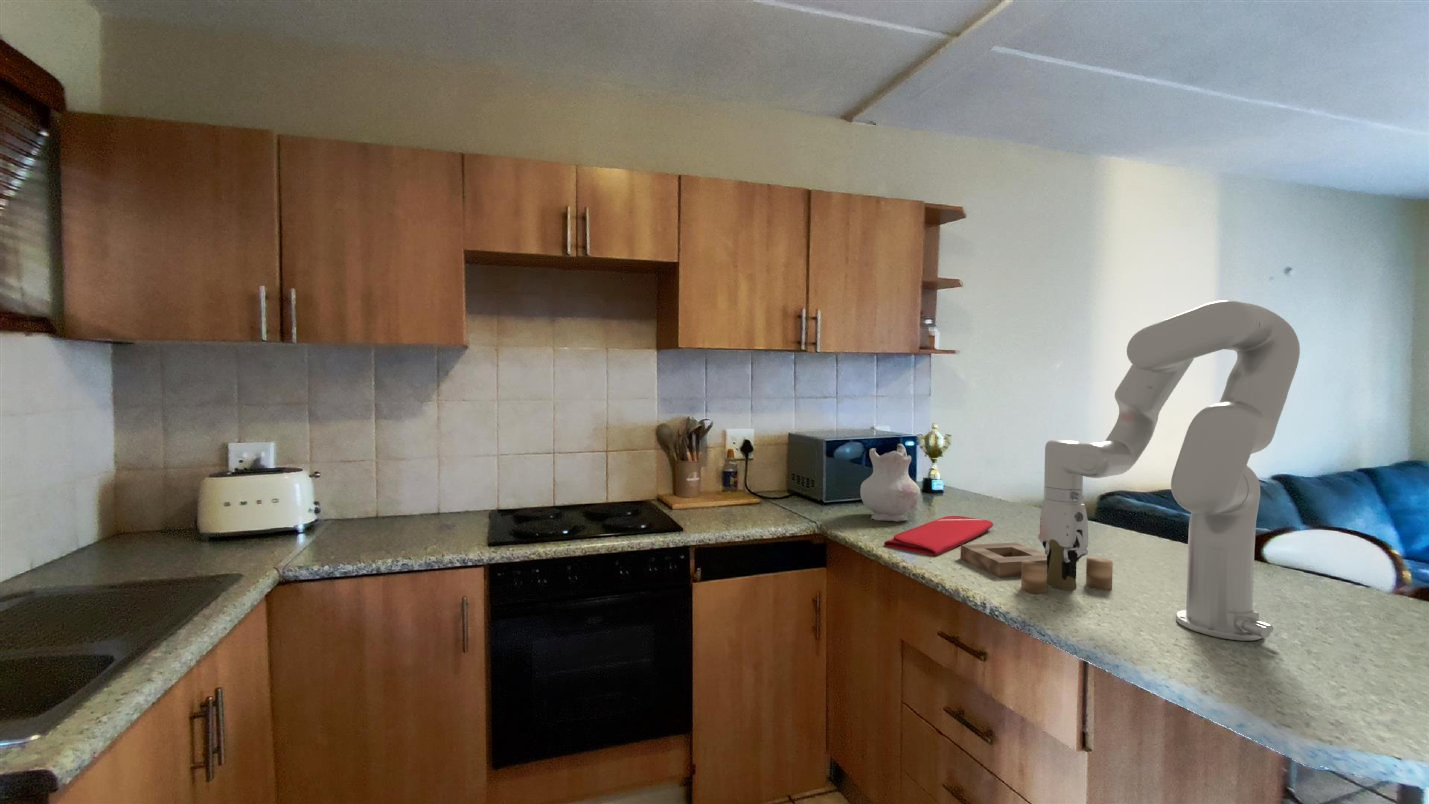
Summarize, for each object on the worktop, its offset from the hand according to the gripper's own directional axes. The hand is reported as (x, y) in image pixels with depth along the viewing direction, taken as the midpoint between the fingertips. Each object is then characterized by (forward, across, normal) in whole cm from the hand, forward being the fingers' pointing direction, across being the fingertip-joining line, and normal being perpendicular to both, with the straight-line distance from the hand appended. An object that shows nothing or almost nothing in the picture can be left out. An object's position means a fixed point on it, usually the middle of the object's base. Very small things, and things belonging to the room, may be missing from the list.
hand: (1061, 575), depth 139 cm
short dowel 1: (+2, -2, +8) cm, 9 cm away
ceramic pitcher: (+3, +72, +5) cm, 73 cm away
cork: (+3, 0, 0) cm, 3 cm away
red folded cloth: (+3, +44, +3) cm, 44 cm away
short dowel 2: (+2, -2, -8) cm, 9 cm away
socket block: (+2, +16, +2) cm, 16 cm away
